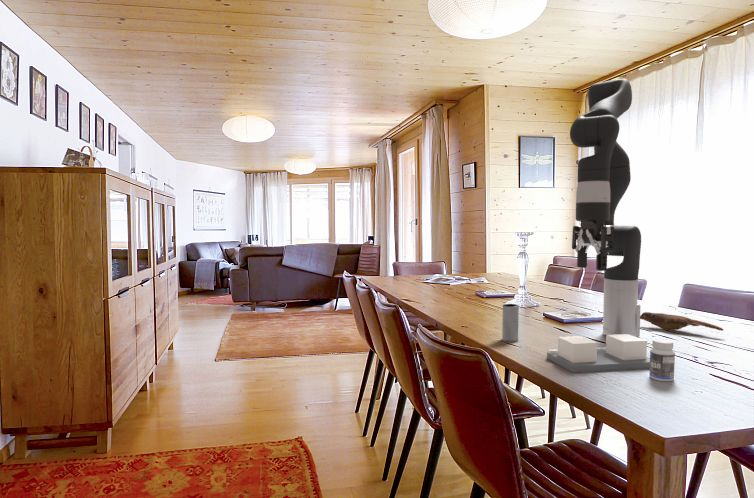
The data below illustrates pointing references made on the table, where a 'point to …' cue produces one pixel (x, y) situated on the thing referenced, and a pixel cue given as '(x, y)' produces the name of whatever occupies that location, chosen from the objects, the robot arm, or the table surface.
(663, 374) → the pill bottle
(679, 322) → the bird sculpture
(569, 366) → the rail board
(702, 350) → the table surface
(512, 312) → the planter
